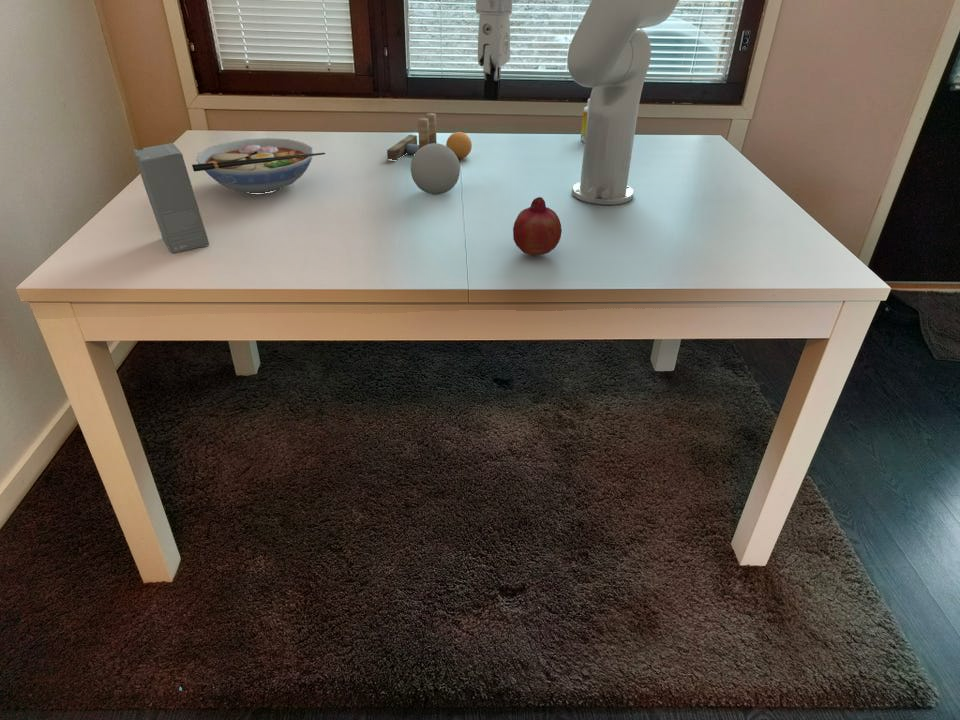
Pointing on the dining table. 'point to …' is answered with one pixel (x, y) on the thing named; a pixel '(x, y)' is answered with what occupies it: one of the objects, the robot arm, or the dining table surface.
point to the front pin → (412, 148)
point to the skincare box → (171, 196)
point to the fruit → (537, 229)
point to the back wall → (401, 147)
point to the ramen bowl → (256, 163)
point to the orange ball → (459, 144)
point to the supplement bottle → (584, 122)
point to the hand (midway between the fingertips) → (491, 98)
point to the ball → (435, 169)
